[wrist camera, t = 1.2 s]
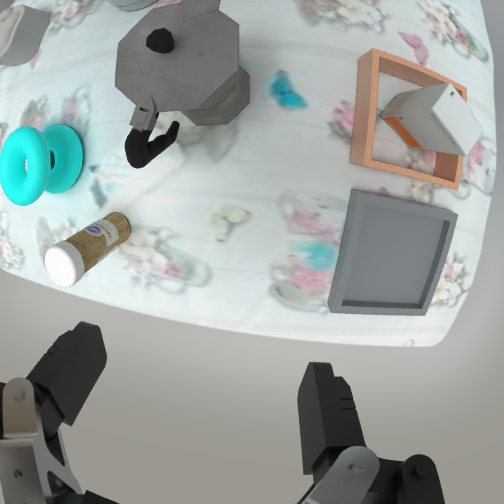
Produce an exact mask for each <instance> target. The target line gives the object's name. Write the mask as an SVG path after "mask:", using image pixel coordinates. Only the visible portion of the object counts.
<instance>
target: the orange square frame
mask: <svg viewBox="0 0 504 504" xmlns="http://www.w3.org/2000/svg"><path fill="white" fill-rule="evenodd" d="M379 71H380V72H383V73H386V74H389V75H392V76H395V77H398V78H401V79H404V80H406V81H409V82H412V83H414V84H417V85H419V86H422V87H424V88H426V87H430V86H435V85H439V84H444V83H448V82H450V83H451V84H452V85H453V86H454V88H455V89H456V90H457V92H458V93H459V94H460V96H461V97H462V98H463V100H464V101H465V102H466V103H467V88H466V87H464V86H462V85H460V84H458V83H456V82H454V81H452V80H450V79H449V78H447V77H444V76H442V75H440V74H438V73H436V72H434V71H432V70H430V69H427V68H425V67H423V66H420V65H418V64H416V63H413V62H411V61H408V60H405V59H403V58H400V57H397V56H395V55H392V54H389V53H386V52H383V51H380V50H377V49H374V48H372V49H371V50H370V51H368V52H367V53H366V54H365V55H363V56H362V57H361V58H360V59H359V60H358V75H357V91H356V104H355V115H354V126H353V135H352V143H351V152H350V159H349V163H354V164H358V165H362V166H367V167H371V168H376V169H380V170H385V171H389V172H393V173H397V174H402V175H405V176H409V177H413V178H417V179H421V180H424V181H428V182H431V183H435V184H438V185H442V186H445V187H448V188H451V189H454V190H457V191H458V187H459V181H460V175H461V168H462V161H463V156H461V155H455V154H450V153H443V152H437V157H436V165H435V172H434V176H431V175H428V174H425V173H421V172H418V171H414V170H410V169H407V168H403V167H399V166H395V165H391V164H387V163H383V162H379V161H374V160H371V156H372V149H373V140H374V132H375V122H376V110H377V97H378V79H379Z"/></svg>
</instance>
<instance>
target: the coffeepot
mask: <svg viewBox="0 0 504 504" xmlns="http://www.w3.org/2000/svg"><path fill="white" fill-rule="evenodd" d="M219 5H220V0H182V1H181V2H180V3H177V4H172V5H167V6H162V7H157V8H153V9H152V10H151V11H150V12H149V13H148V14H147V15H146V16H144V17H143V18H142V19H141V20H140V21H139V22H138V23H137V24H136V25H135V26H134V27H133V28H132V29H131V30H130V31H129V32H128V33H127V35H126V36H125V37H124V38H123V39H122V40H121V41H120V42H119V43H118V51H117V61H116V73H115V87H116V88H117V89H118V90H120V91H121V92H122V93H123V94H124V95H125V96H126V97H127V98H129V99H130V100H131V101H132V102H133V103H134V104H135V105H136V108H135V110H134V113H133V116H132V119H131V121H130V124H129V125H132V126H133V128H132V130H131V132H130V134H129V135H128V136H127V139H126V141H125V152H126V156H127V160H128V162H129V163H130V165H131V166H132V167H134V168H136V169H138V168H142V167H144V166H146V165H147V164H148V163H149V162H150V161H151V160H152V159H154V158H155V157H156V156H157V155H159V154H160V153H161V152H163V151H164V150H165V149H166V148H168V147H169V146H170V145H171V144H173V143H174V141H175V140H176V138H177V134H178V130H179V123H178V122H177V121H173V122H172V124H171V126H170V128H169V129H168V131H167V132H166V134H163V135H159V136H157V137H156V138H155V139H154V140H153V141H150V142H148V140H149V137H150V135H151V133H152V130H153V128H154V126H155V124H156V121H157V118H158V116H159V112H167V111H181V112H182V113H183V114H185V115H186V116H187V117H188V118H189V119H190V120H191V121H192V122H193V123H194V124H196V125H197V126H198V125H218V124H228V123H229V122H230V121H231V120H232V119H233V118H234V117H235V116H236V115H238V114H239V112H240V111H241V110H242V109H244V108H245V107H246V106H247V105H248V104H249V74H247V73H246V72H245V71H244V70H243V69H242V68H241V67H239V66H238V61H239V24H238V23H237V22H235V21H234V20H232V19H231V18H229V17H228V16H227V15H225V14H224V13H222V12H221V11H219Z"/></svg>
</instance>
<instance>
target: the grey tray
mask: <svg viewBox="0 0 504 504" xmlns="http://www.w3.org/2000/svg"><path fill="white" fill-rule="evenodd" d="M457 217H458V214H456V213H454V212H452V211H450V210H447V209H443V208H439V207H435V206H431V205H427V204H423V203H418V202H414V201H409V200H405V199H400V198H395V197H391V196H386V195H381V194H376V193H370V192H365V191H359V190H354V189H351V194H350V200H349V206H348V212H347V217H346V222H345V228H344V233H343V238H342V242H341V247H340V252H339V256H338V261H337V265H336V270H335V274H334V278H333V282H332V286H331V290H330V294H329V298H328V302H327V303H328V306H329V309H330V312H331V313H345V314H368V315H408V316H425V315H426V312H427V310H428V307H429V305H430V303H431V300H432V297H433V295H434V292H435V290H436V287H437V284H438V281H439V279H440V276H441V273H442V270H443V267H444V264H445V261H446V258H447V254H448V251H449V248H450V244H451V241H452V237H453V233H454V229H455V226H456V221H457Z"/></svg>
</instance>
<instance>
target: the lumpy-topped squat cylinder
mask: <svg viewBox="0 0 504 504" xmlns="http://www.w3.org/2000/svg"><path fill="white" fill-rule="evenodd" d="M49 22H50V16H49V14H46V13H44V12H41V11H39V10H36V9H33V8H31V7H28V6H25V5H19V6H15V7H13V8H9V9H6V10H4V11H3V12H2V13H1V15H0V65H7V66H17V65H21V64H24V63H27V62H28V61H30V60H31V59H32V58H33V57H34V55H35V54H36V53H37V51H38V49H39V46H40V43H41V39H42V37H43V34H44V32H45V30H46V29H47V27H48V24H49Z"/></svg>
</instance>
